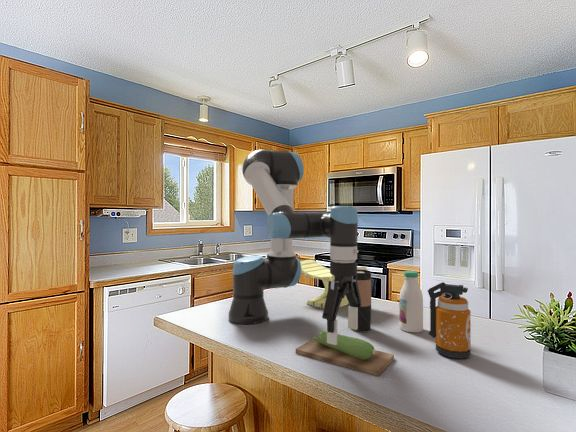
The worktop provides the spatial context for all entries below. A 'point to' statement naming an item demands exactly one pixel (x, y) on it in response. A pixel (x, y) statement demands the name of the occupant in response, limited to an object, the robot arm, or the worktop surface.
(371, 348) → the edible corn
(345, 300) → the slatted curved stool
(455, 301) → the canister
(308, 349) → the serving board
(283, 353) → the worktop surface
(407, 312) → the milk bottle
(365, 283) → the travel mug
